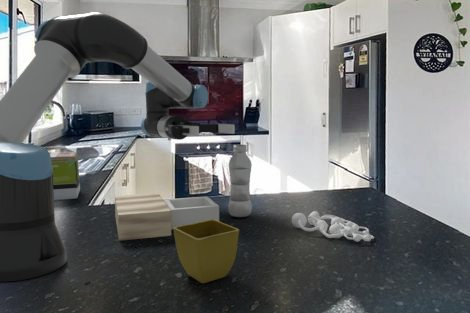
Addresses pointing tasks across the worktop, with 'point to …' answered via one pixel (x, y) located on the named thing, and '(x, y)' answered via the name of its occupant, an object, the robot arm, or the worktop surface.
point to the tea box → (65, 175)
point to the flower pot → (206, 249)
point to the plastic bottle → (240, 182)
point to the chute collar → (192, 210)
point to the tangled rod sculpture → (335, 228)
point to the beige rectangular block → (142, 216)
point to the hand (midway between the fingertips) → (216, 130)
